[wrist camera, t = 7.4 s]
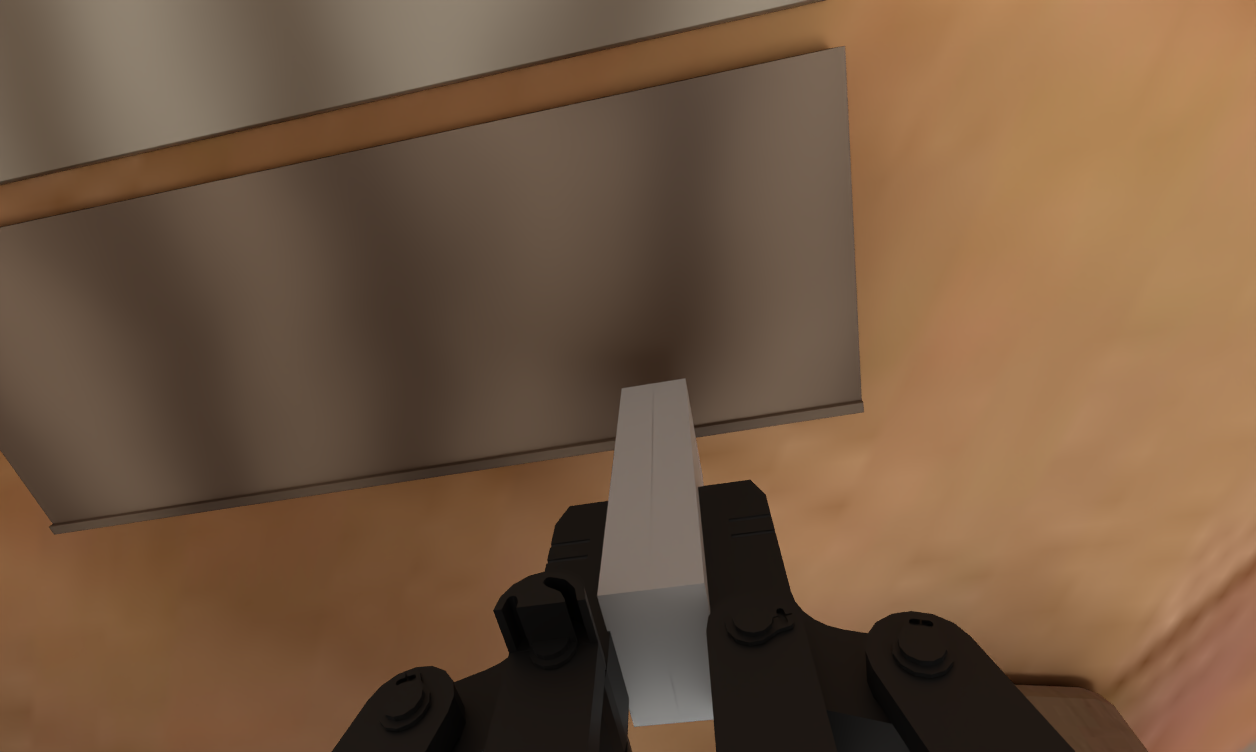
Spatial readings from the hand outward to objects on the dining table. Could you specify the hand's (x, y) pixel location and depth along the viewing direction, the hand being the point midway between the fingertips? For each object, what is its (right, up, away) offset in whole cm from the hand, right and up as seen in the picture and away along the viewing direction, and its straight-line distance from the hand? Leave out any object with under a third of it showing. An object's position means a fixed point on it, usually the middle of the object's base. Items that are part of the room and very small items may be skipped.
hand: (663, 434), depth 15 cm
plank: (-7, +3, +3) cm, 9 cm away
